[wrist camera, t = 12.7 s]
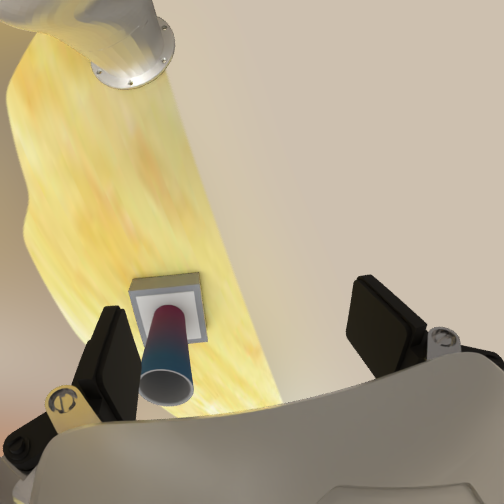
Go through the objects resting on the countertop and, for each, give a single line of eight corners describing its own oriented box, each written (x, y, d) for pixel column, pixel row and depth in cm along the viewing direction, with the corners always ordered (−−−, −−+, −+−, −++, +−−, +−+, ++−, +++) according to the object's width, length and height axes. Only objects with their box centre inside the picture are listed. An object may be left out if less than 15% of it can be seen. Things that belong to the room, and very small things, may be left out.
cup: (199, 313, 44) (205, 384, 31) (176, 341, 45) (175, 412, 32) (161, 291, 42) (152, 360, 28) (140, 322, 43) (127, 392, 29)
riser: (132, 279, 44) (128, 291, 41) (198, 272, 46) (199, 284, 42) (146, 333, 49) (144, 347, 45) (206, 327, 50) (208, 342, 47)
